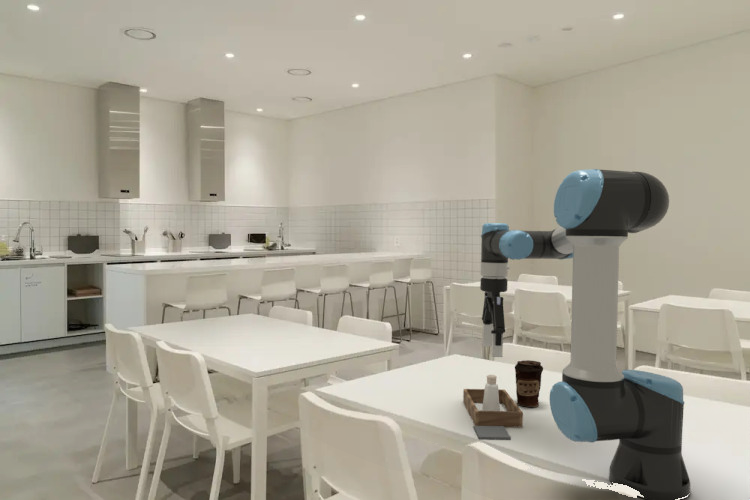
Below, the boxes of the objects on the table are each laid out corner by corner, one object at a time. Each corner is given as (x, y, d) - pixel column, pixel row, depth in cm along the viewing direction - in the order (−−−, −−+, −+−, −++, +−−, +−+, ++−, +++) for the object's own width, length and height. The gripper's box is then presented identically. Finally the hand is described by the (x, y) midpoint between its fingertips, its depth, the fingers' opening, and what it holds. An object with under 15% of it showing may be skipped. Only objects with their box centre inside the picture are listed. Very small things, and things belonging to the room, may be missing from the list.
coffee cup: (543, 410, 164) (544, 366, 164) (514, 408, 166) (515, 364, 166) (540, 401, 173) (542, 359, 172) (513, 399, 175) (514, 358, 174)
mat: (510, 439, 141) (510, 437, 141) (478, 439, 141) (478, 436, 141) (503, 428, 149) (503, 426, 149) (473, 427, 149) (473, 425, 149)
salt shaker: (486, 409, 164) (487, 372, 164) (503, 413, 161) (504, 375, 161) (477, 413, 160) (478, 375, 160) (495, 418, 157) (495, 379, 156)
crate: (522, 427, 150) (522, 412, 150) (475, 426, 150) (475, 411, 150) (504, 402, 171) (504, 389, 171) (463, 401, 171) (463, 388, 171)
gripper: (518, 281, 147) (515, 362, 148) (498, 273, 172) (496, 342, 172) (489, 281, 147) (487, 361, 148) (473, 273, 172) (471, 342, 173)
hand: (492, 351), depth 160 cm, fingers open, 13 cm apart
